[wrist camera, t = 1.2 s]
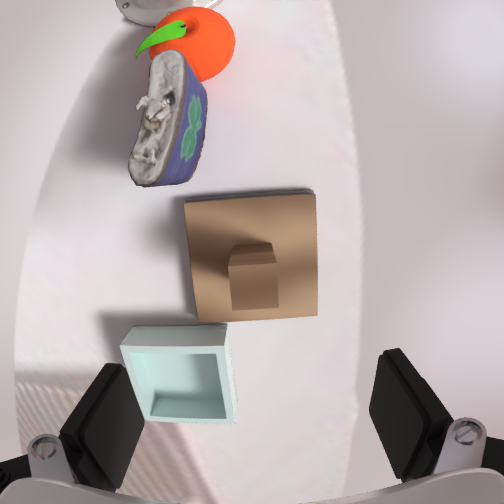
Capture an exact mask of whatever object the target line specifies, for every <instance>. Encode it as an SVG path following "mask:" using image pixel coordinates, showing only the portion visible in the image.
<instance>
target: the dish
mask: <svg viewBox="0 0 504 504" xmlns="http://www.w3.org/2000/svg"><path fill="white" fill-rule="evenodd" d="M119 346H120V349H121V352H122V356H123V359H124V362H125V365H126V368H127V371H128V374H129V377H130V380H131V383H132V386H133V389H134V392H135V395H136V397H137V400H138V403H139V405H140V408H141V411H142V413H143V416H144V418H145V420H149V421H161V422H175V423H197V424H236V410H237V394H236V387H235V379H234V372H233V364H232V356H231V348H230V340H229V332H228V324H226V325H198V326H133V327H132V329H131V330H130V331H129V333H128V334H127V335H126V337H125V338H124V340H123V341H122V342H121V344H120V345H119Z"/></svg>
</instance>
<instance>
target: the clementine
mask: <svg viewBox="0 0 504 504" xmlns="http://www.w3.org/2000/svg"><path fill="white" fill-rule="evenodd" d="M234 46H235V37H234V32H233V30H232V28H231V26H230V24H229V22H228V21H227V20H226V19H225V18H224V17H223V16H222V15H221V14H219V13H217V12H215V11H213V10H211V9H209V8H205V7H186V8H181V9H179V10H176V11H174V12H172V13H170V14H169V15H167V16H166V17H164V18H163V19H162V20H161V21H160V22H159V23H158V24H157V25H156V27H155V29H154V31H153V32H152V34H151V35H150V36H149V37H147V38H146V39H145V40H144V41H143V42H142V44H141V45H140V46H139V48H138V50H137V52H136V58H137V55H138V54H139V53H140V52H141V51H143V50H144V49H146V48H148V47H149V52H150V57H151V59H152V60H153V58H154V57H155V55H158V54H159V53H161V52H163V51H166V50H168V49H172V50H177V51H179V52H181V53H182V54H183V55H184V56H185V58H186V60H187V62H188V64H189V65H190V67H191V69H192V70H193V71H194V73H195V75H196V77H197V78H198V80H199V81H200V82H202V81H205V80H207V79H210V78H212V77H214V76H215V75H217V74H218V73H220V72H221V71H222V70H223V69H224V68H225V67H226V66H227V64H228V63H229V62H230V60H231V58H232V56H233V52H234Z"/></svg>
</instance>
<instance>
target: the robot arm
mask: <svg viewBox="0 0 504 504" xmlns="http://www.w3.org/2000/svg"><path fill="white" fill-rule="evenodd" d="M115 1H116V5H117V7H118V8H119V10H120V11H121V13H122V14H123V15H124V16H125V17H126V18H128V19H129V20H131V21H133V22H135V23H138V24H141V25H148V26H156V25H157V24H158V23H159V22H160V21H161V20H162V19H163V18H164V17H166V16H167V15H169V14H170V13H172V12H174V11H176V10H179V9H181V8H186V7H205V8H209V9H212V8H214V7H215V6H216V5H218V4H219V3H220V2H221V1H222V0H115ZM369 413H370V416H371V419H372V421H373V424H374V426H375V428H376V430H377V433H378V435H379V437H380V440H381V442H382V444H383V447H384V449H385V452H386V454H387V457H388V459H389V461H390V464H391V466H392V469H393V471H394V474H395V476H396V478H397V479H400V478H401V480H402V484H398V485H395V486H391V487H387V488H384V489H379V490H375V491H371V492H367V493H362V494H357V495H353V496H347V497H342V498H337V499H331V500H324V501H317V502H310V503H301V504H504V440H501V439H496V438H491V437H487V434H486V429H485V427H484V425H483V424H482V423H481V422H480V421H478V420H476V419H473V418H466V417H465V418H460V419H457V420H455V421H454V420H453V418H452V417H451V415H450V414H449V412H448V411H447V410H446V409H445V407H444V405H443V404H442V403H441V401H440V400H439V398H438V397H437V396H436V394H435V393H434V392H433V390H432V389H431V387H430V386H429V385H428V384H427V382H426V381H425V379H424V378H422V377H421V376H420V375H419V373H418V372H417V370H416V369H415V368H414V366H413V365H412V364H411V362H410V361H409V360H408V358H407V357H406V356H405V355H404V353H403V352H402V351H401V349H400V348H395V349H390V350H385V351H384V352H383V355H380V356H379V359H378V365H377V370H376V377H375V381H374V387H373V392H372V396H371V401H370V406H369ZM143 427H144V416H143V414H142V411H141V408H140V406H139V403H138V400H137V398H136V395H135V392H134V389H133V387H132V384H131V381H130V378H129V375H128V372H127V369H126V368H123V366H122V365H121V364H115V363H106V364H105V365H104V367H103V368H102V370H101V371H100V372H99V374H98V375H97V377H96V378H95V380H94V381H93V382H92V384H91V385H90V387H89V388H88V390H87V391H86V393H85V394H84V395H83V397H82V398H81V400H80V401H79V403H78V404H77V406H76V407H75V409H74V410H73V412H72V413H71V415H70V416H69V418H68V419H67V421H66V422H65V424H64V425H63V427H62V428H61V430H60V431H59V432H60V435H59V437H57V436H55V435H52V434H42V435H39V436H37V437H35V438H34V439H33V440H32V441H31V442H30V443H29V445H28V451H27V452H28V454H27V455H23V456H20V457H17V458H14V459H10V460H8V461H4V462H0V504H179V503H171V502H163V501H156V500H150V499H144V498H138V497H133V496H128V495H123V494H118V493H115V491H116V488H117V489H119V488H120V487H121V485H122V482H123V479H124V477H125V474H126V471H127V469H128V466H129V463H130V461H131V458H132V455H133V453H134V450H135V448H136V445H137V442H138V440H139V437H140V435H141V432H142V430H143Z"/></svg>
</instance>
